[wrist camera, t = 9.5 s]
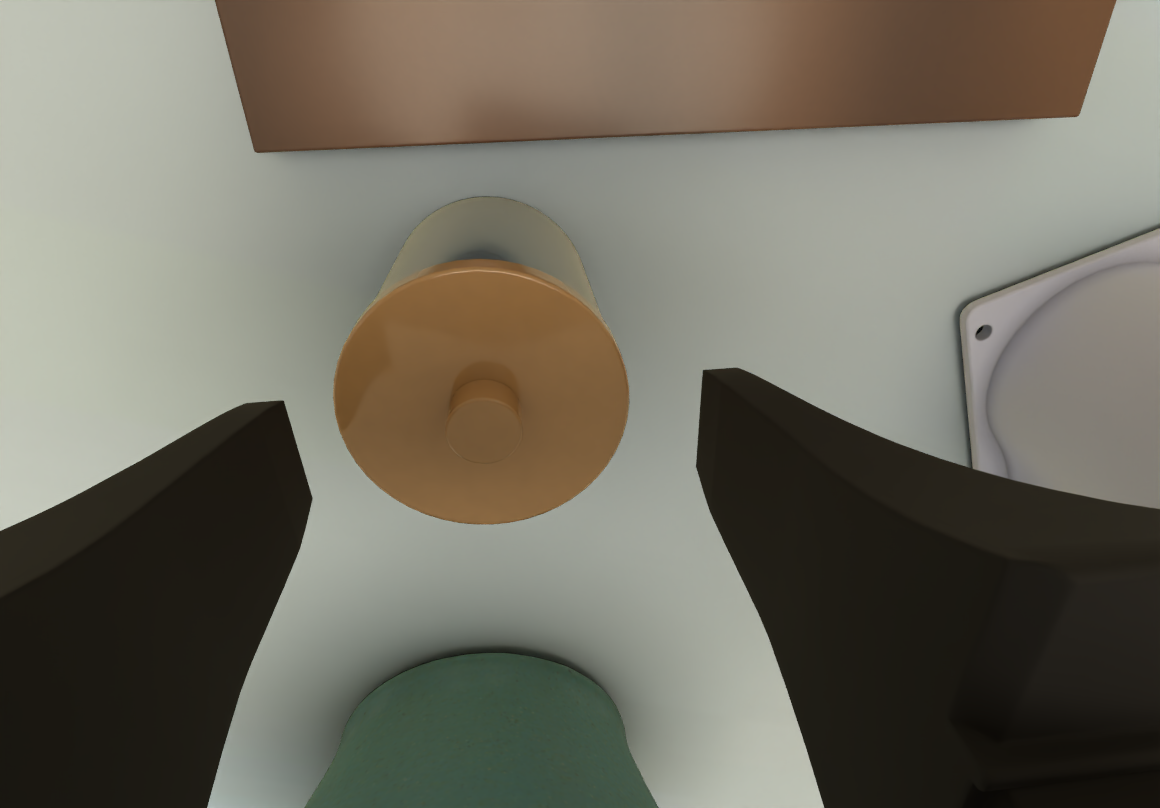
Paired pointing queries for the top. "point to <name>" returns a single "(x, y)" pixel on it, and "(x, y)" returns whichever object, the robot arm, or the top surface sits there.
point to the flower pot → (484, 741)
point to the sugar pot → (483, 370)
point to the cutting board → (646, 66)
